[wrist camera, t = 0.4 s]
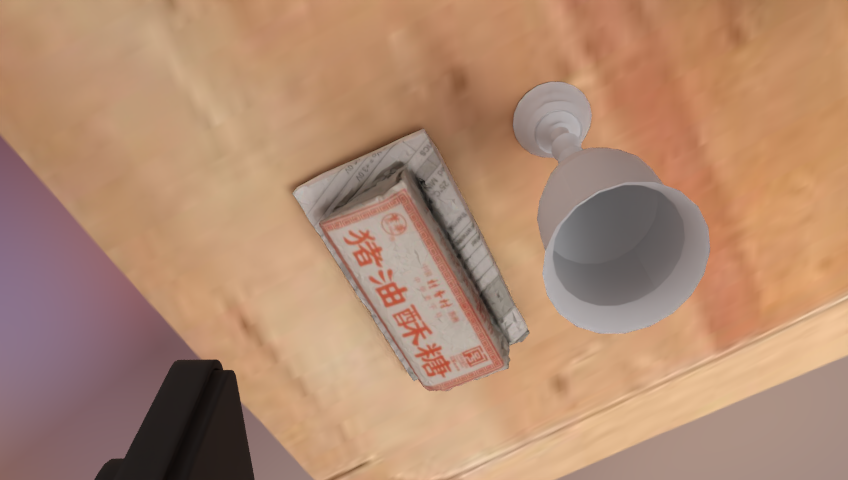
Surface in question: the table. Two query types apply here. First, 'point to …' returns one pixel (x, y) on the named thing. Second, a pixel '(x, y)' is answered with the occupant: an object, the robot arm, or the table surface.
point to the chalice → (607, 222)
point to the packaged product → (417, 261)
